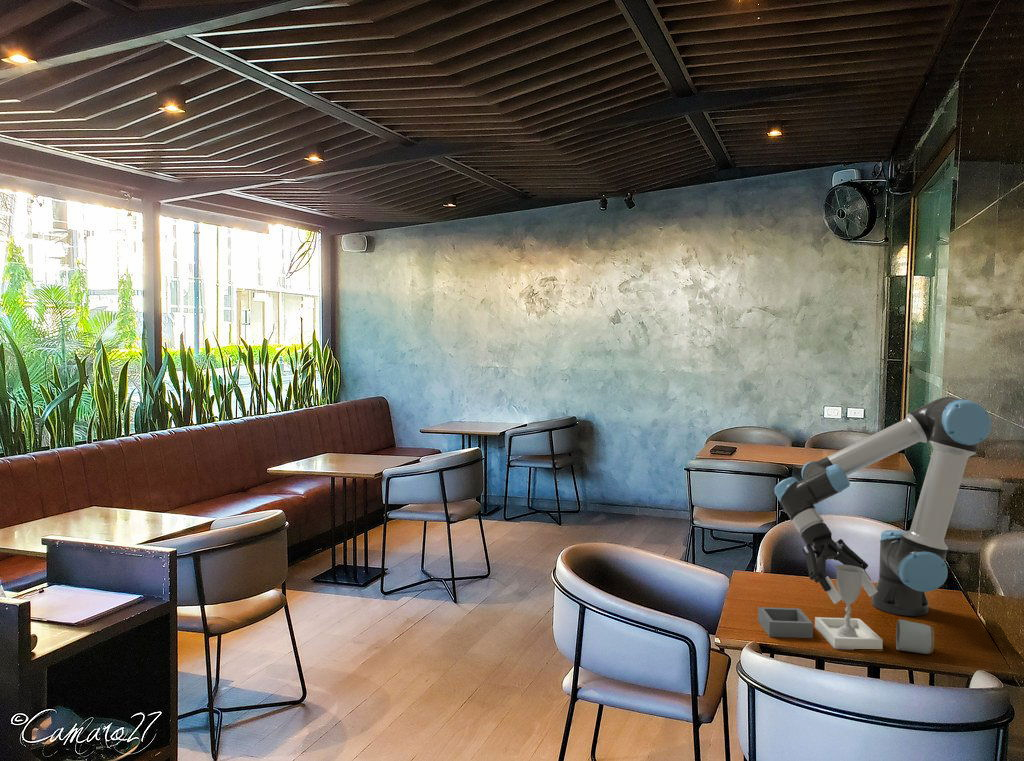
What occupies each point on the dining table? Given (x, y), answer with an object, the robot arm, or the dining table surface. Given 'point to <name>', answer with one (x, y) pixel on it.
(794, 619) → the charcoal collar
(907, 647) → the ceramic mug
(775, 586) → the dining table surface
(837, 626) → the off-white tray
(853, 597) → the chalice
